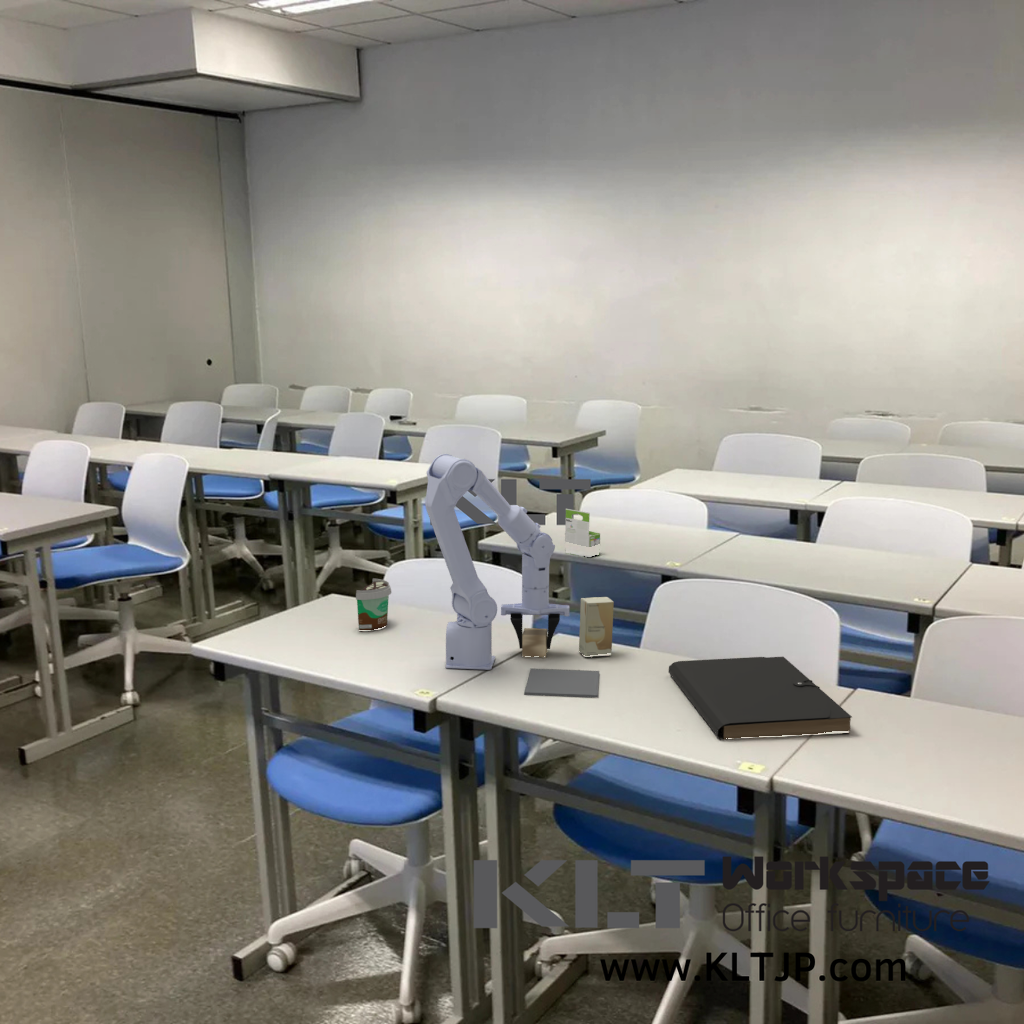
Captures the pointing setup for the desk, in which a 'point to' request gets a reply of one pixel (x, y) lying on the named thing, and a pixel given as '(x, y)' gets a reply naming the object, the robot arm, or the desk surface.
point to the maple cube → (534, 642)
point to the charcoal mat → (562, 683)
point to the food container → (373, 605)
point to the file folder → (757, 697)
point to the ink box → (580, 530)
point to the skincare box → (596, 626)
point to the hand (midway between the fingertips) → (534, 647)
